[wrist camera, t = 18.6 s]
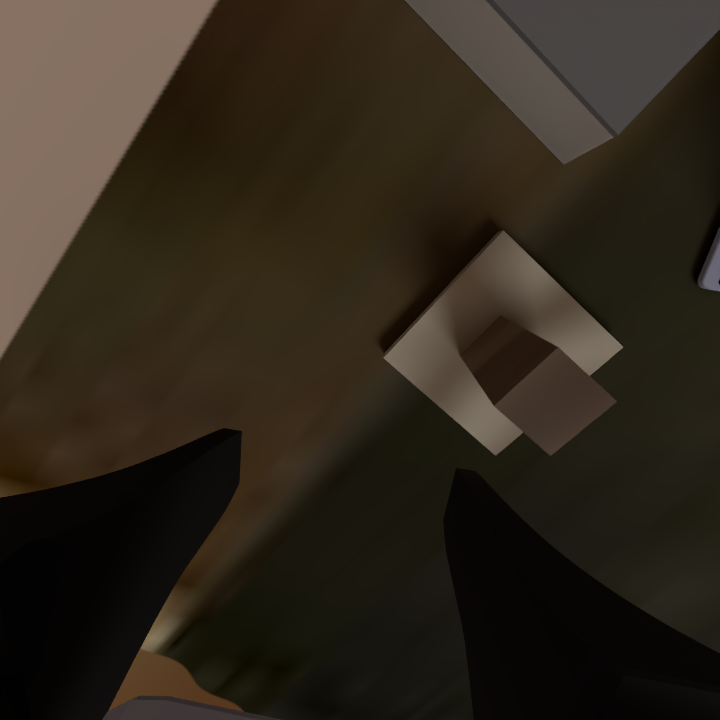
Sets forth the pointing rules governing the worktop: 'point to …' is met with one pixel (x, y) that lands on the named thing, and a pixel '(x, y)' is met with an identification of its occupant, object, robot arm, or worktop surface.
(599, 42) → the switch box
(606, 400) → the brown rectangular block
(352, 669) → the worktop surface
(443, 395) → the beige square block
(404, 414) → the worktop surface
